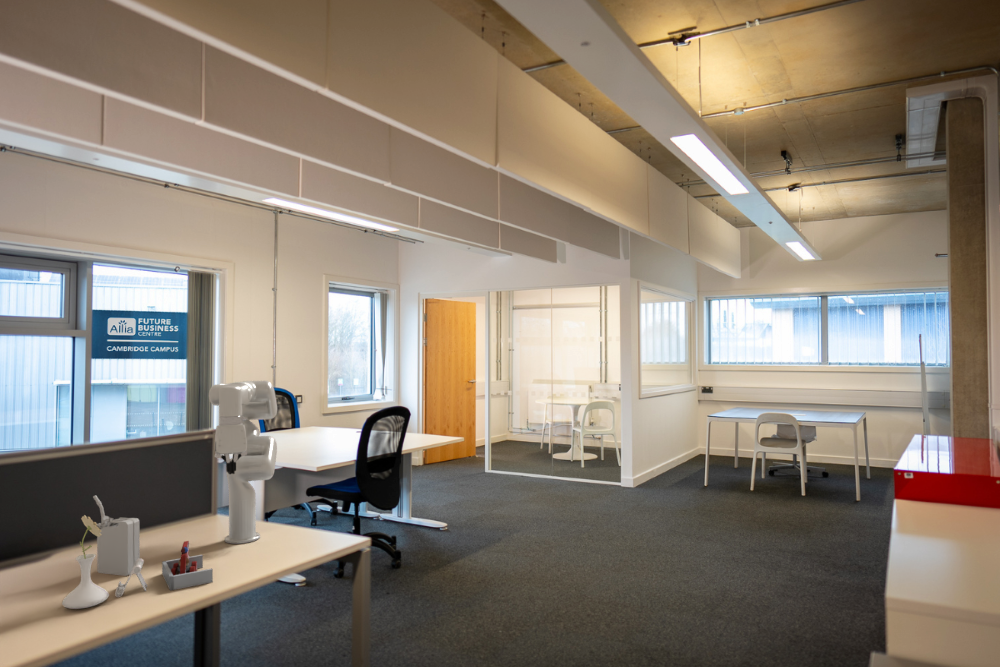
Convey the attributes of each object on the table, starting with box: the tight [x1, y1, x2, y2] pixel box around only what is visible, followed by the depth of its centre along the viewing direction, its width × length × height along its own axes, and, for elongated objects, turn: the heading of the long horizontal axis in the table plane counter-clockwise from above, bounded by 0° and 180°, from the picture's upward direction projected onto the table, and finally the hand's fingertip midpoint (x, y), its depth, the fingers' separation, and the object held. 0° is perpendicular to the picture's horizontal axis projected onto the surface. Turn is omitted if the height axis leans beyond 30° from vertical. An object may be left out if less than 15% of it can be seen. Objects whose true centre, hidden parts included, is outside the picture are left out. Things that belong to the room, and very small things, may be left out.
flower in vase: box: [61, 514, 110, 610], centre depth 191 cm, size 13×11×25 cm
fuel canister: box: [92, 495, 141, 577], centre depth 218 cm, size 15×5×25 cm, turn 73°
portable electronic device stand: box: [114, 557, 148, 598], centre depth 200 cm, size 9×8×8 cm
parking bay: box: [161, 554, 214, 591], centre depth 211 cm, size 18×12×4 cm, turn 34°
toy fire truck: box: [171, 540, 198, 576], centre depth 211 cm, size 7×12×10 cm, turn 20°
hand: (231, 473), depth 232 cm, fingers closed
